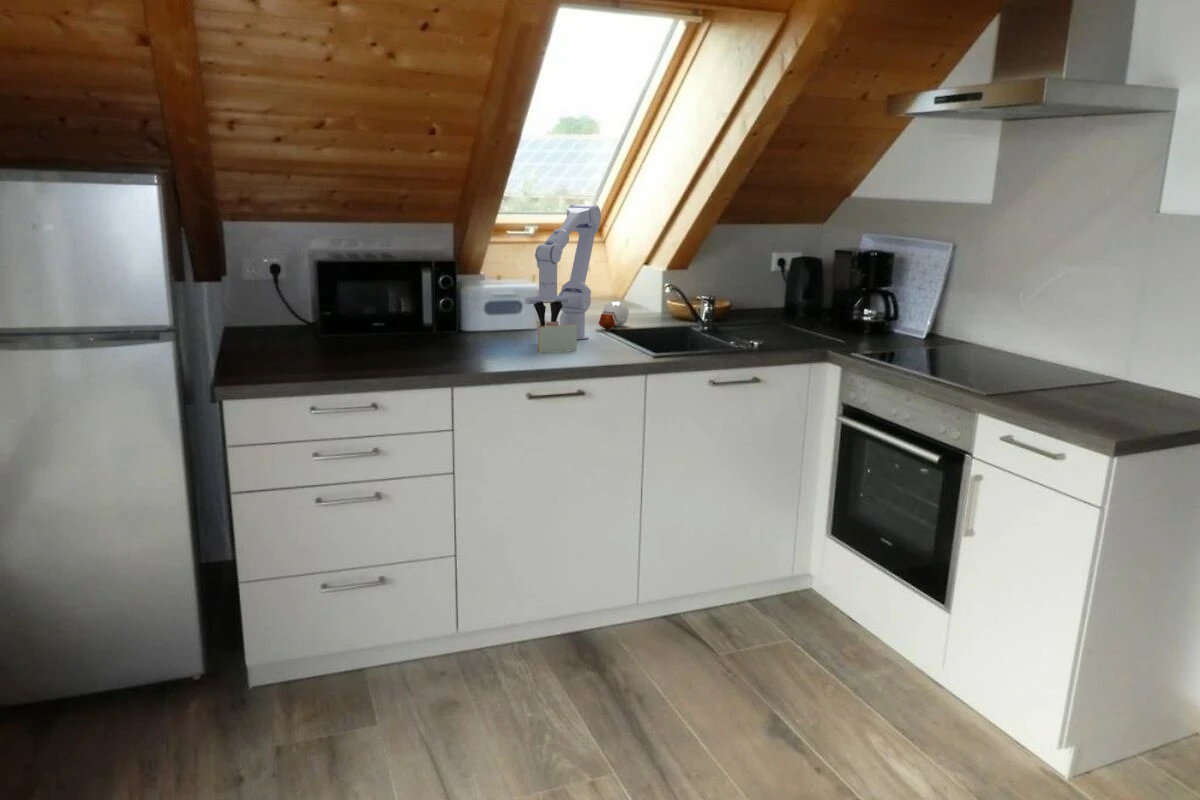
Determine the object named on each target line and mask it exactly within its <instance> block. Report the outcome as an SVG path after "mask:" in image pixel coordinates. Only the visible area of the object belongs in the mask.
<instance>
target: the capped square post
mask: <svg viewBox="0 0 1200 800" xmlns="http://www.w3.org/2000/svg"><path fill="white" fill-rule="evenodd" d="M554 325H560V321H557V320H556V321H553V322H551V320H548V319H545V326H554ZM538 326H540V320H539V319H537V320H536V330H537V331H538Z"/></svg>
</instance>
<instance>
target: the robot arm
mask: <svg viewBox="0 0 1200 800" xmlns="http://www.w3.org/2000/svg"><path fill="white" fill-rule="evenodd" d="M601 219H602V212H601V209H600V207H599V205H597V204H576V203H571V204H569V206H568V208H567V210H566V218H565V219H564V221H563V222H562V224H561V226H560V227H559V228H556V229H554V230H553V232H552V233H551V234H550V235H549V237H548V238H547V239H546V240H545V242H544V243H541V244H539V245H538V246H536V249H535V253H534V258H535V260H536V266H537V268H538V296H528V297H527V296H526V297H525V298H524V303H525V304H526V305H533V307H534V309H535V311H536V313H537V314H536V315H537V316H538V320H540V326H545V320H546V318H545V317H546V308H547V306H546V305H545V304H549V305H550V307H549V308H550V322H553V321H557V319H558V317H559V325H572V324H575V325H577V340H587V339H589V338H590V337H589V336H587V335H586V333H585V331H586V328H585V327H586V325H585V324H586V323H585V322H586V319H585V318H586V312H588V310H589V309H590V306H591V303H592V302H591V301H592V299H591V295H592V290H591V289H590V287H589V286H588V285H587V284H586V279H587V275H588V271H589V265H590V262H591V255H592V250H593V247H594V243H595V242H594V241H595V239H596V238H595V236H596V234H597V233H598V232H599V228H600V225H601ZM573 232H576V233H577V234H578V240H577V242H576V243H577V244H576V249H575V253H574V257H573V263H572V266H571V272H570V278H569V280H568V281H567V282H565V283H563V284H562V286H561V290H560V292H559V294H558V263H559V262H560V261H561V258H562V254H563V250H564V249H565V247H566V246H567V244H568V243H569V242H570V235H571V234H572V233H573ZM560 312H561V314H560ZM559 314H560V316H559Z"/></svg>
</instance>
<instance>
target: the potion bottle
mask: <svg viewBox="0 0 1200 800" xmlns="http://www.w3.org/2000/svg"><path fill="white" fill-rule="evenodd" d="M629 315H630V311H629V308H628V306H627V305H626V304H625V303H624V302H622V301H619V300H611V301H609V302H608V303H606V304H605V305H604V308H603V311H602V313H601V314H600V317H599V321H598V325H599V326H600V327H601V328H603V329H604V328H605V329H610V330H611V329H612V328H615V327H614V326H620V327H622V326H623V325H624V324H626V323H627V322H628V319H629ZM621 325H622V326H621ZM605 329H604V330H605Z"/></svg>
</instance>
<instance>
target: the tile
mask: <svg viewBox="0 0 1200 800" xmlns="http://www.w3.org/2000/svg"><path fill="white" fill-rule="evenodd" d="M577 341H578V339H577V325H575V324H572V325H560V324H559V325H554V326H538V330H537V352H538V353H539V352H549V353H556V352H555V351H564V352H568V351H567V350H578V349H577V346H578V345H577V343H578V342H577Z"/></svg>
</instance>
